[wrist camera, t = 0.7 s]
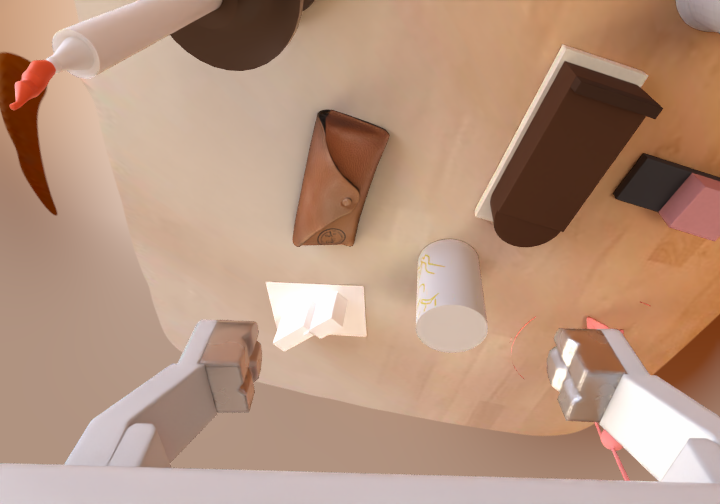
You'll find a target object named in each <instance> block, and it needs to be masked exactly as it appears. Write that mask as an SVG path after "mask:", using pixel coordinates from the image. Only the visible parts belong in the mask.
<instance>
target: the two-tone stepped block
mask: <svg viewBox="0 0 720 504" xmlns="http://www.w3.org/2000/svg"><path fill="white" fill-rule="evenodd" d="M613 195H614V196H615V198H616V199H618V200H621V201H624V202H627V203H631V204H634V205H637V206H640V207H643V208H647V209H650V210H653V211H656V212H658V213H659V214H660V215H661V217H662V218H663V220H664V221H665V222H666V224H667V225H668V227H670V228H673V229H676V230H680V231H683V232H686V233H689V234H693V235H696V236H699V237H702V238H706V239H709V240H712V241H716V240H717V239H718V238H719V237H720V178H719V177H716V176H713V175H710V174H707V173H704V172H701V171H697V170H694V169H691V168H688V167H685V166H682V165H679V164H676V163H673V162H669V161H666V160H663V159H660V158H657V157H654V156H651V155H648V154H643V155H642V156H641V157H640V159H639V160H638V161H637V163H636V164H635V165H634V167H633V168H632V169H631V171H630V172H629V173H628V175H627V176H626V177H625V179H624V180H623V181H622V183H621V184H620V185H619V186H618V188H617V189H616V190H615V192H614V193H613Z"/></svg>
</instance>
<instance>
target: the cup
mask: <svg viewBox="0 0 720 504" xmlns="http://www.w3.org/2000/svg"><path fill="white" fill-rule="evenodd" d="M487 332H488V325H487V317H486V310H485V303H484V295H483V288H482V280H481V273H480V265H479V258H478V255H477V253H476V251H475V250H474V249H473V248H472V247H471V246H470V245H468V244H467V243H465V242H462V241H459V240H454V239H444V240H439V241H435V242H433V243H431V244H429V245H428V246H426V247H425V248H424V249H423V250H422V252H421V253H420V255H419V258H418V275H417V307H416V333H417V336H418V337H419V339H420V340H421V341H422V342H423V343H424V344H425V345H426V346H428V347H430V348H432V349H434V350H437V351H441V352H449V353H456V352H463V351H467V350H470V349H472V348H474V347H476V346H478V345H479V344H480V343H481V342H482V341H483V340H484V339H485V337H486V335H487Z"/></svg>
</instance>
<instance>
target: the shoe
mask: <svg viewBox="0 0 720 504" xmlns="http://www.w3.org/2000/svg"><path fill="white" fill-rule="evenodd" d="M647 77H648V75H647V74H646V73H644V72H643V71H641V70H638V69H635V68H632V67H629V66H626V65H623V64H620V63H617V62H614V61H611V60H608V59H605V58H602V57H599V56H596V55H593V54H590V53H587V52H584V51H581V50H578V49H575V48H572V47H569V46H566V45H562V47H561V49H560V50H559V52H558V54H557V56H556V58H555V60H554V62H553V64H552V66H551V67H550V69H549V71H548V73H547V75H546V77H545V79H544V81H543V82H542V84H541V86H540V88H539V90H538V92H537V94H536V96H535V98H534V99H533V101H532V103H531V105H530V107H529V109H528V111H527V113H526V114H525V116H524V118H523V120H522V122H521V124H520V126H519V128H518V130H517V131H516V133H515V135H514V137H513V139H512V141H511V143H510V145H509V146H508V148H507V150H506V152H505V154H504V156H503V158H502V160H501V162H500V163H499V165H498V167H497V169H496V171H495V173H494V175H493V177H492V178H491V180H490V182H489V184H488V186H487V188H486V190H485V192H484V194H483V195H482V197H481V199H480V201H479V203H478V205H477V207H476V209H475V216H476V217H478V218H481V219H484V220H488V221H491V222H493V223H494V228H495V231H496V233H497V234H498V236H499V237H500V238H501V239H502V240H503V241H505V242H507V243H508V244H511V245H514V246H518V247H533V246H538V245H541V244H544V243H546V242H548V241H550V240H551V239H553V238H554V237H555V236H557V235H558V234H559V233H560V231H562V232H563V231H564V230H565V229H566V227H567V226H568V225H569V223H570V222H571V220H572V219H573V218H574V216H575V215H576V213H577V212H578V211H579V209H580V208H581V206H582V205H583V204H584V202H585V201H586V199H587V198H588V197H589V195H590V194H591V192H592V191H593V190H594V188H595V187H596V185H597V184H598V183H599V181H600V180H601V178H602V177H603V176H604V174H605V173H606V171H607V170H608V169H609V167H610V166H611V164H612V163H613V162H614V160H615V159H616V157H617V156H618V155H619V153H620V152H621V150H622V149H623V148H624V146H625V145H626V143H627V142H628V141H629V139H630V138H631V136H632V135H633V134H634V132H635V131H636V129H637V128H638V127H639V125H640V124H641V122H642V121H643V120H644V118H645V117H646V116H647V117H651V118H654V119H656V118H657V116H658V115H659V113H660V112H661V111H662V109H663V108H662V107H661V106H660V105H659V104H658V103H657V102H655V101H654V100H653V99H652V98H651V97H650V96H649V95H648V94H647V93H646V92H645V91H643V90H642V89H641V86H642V85H643V83H644V82H645V80H646V79H647Z"/></svg>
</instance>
